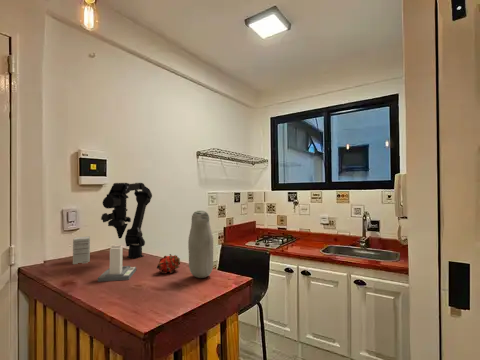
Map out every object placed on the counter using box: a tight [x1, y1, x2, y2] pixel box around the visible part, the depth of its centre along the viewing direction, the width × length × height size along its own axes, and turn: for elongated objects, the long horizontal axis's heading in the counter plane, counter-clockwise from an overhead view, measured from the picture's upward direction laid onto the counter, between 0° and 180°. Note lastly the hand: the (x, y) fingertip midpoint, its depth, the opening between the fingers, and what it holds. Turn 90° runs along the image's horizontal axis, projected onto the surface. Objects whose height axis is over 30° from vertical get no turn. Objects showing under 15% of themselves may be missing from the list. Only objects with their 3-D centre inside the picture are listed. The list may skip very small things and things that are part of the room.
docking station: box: [97, 265, 137, 283], centre depth 118 cm, size 14×12×2 cm
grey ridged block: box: [72, 236, 91, 265], centre depth 142 cm, size 7×7×13 cm
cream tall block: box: [109, 245, 124, 274], centre depth 115 cm, size 4×4×12 cm
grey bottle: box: [187, 210, 214, 279], centre depth 116 cm, size 10×10×28 cm
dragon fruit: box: [156, 253, 181, 274], centre depth 122 cm, size 8×8×12 cm
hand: (120, 238), depth 137 cm, fingers closed
